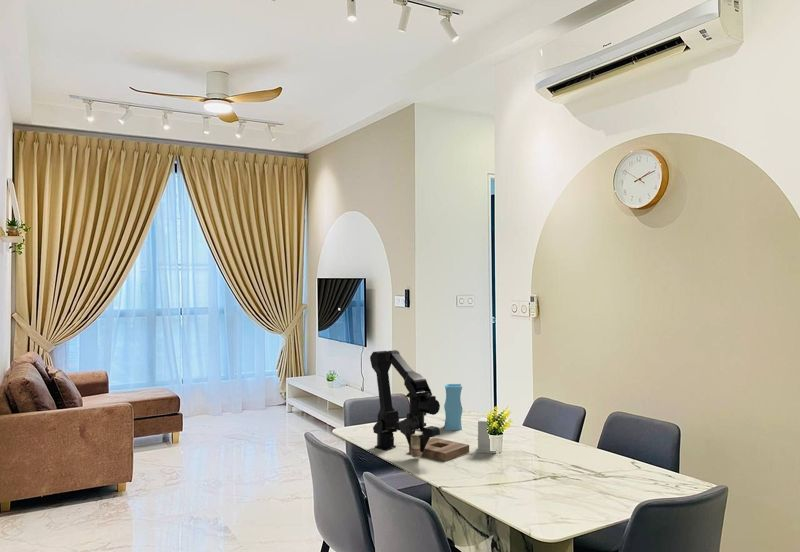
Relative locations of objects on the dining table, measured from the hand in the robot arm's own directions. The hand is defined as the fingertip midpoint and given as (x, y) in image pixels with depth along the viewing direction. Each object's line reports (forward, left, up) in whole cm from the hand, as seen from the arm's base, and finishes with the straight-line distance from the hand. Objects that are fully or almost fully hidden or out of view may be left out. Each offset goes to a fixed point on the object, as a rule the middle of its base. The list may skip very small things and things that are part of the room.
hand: (416, 450), depth 233 cm
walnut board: (+1, +13, -3) cm, 13 cm away
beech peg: (0, 0, -2) cm, 2 cm away
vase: (-19, +50, -3) cm, 54 cm away
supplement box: (+14, +28, -3) cm, 31 cm away
